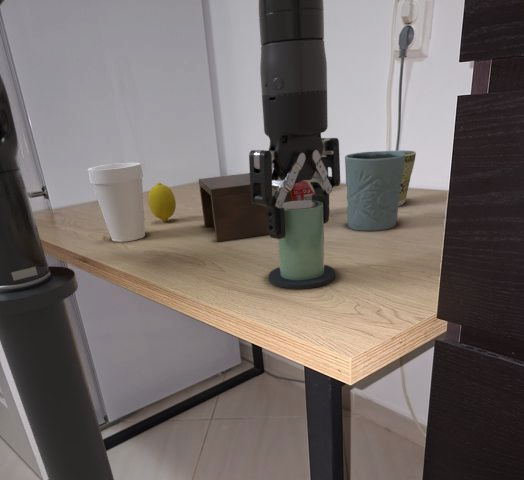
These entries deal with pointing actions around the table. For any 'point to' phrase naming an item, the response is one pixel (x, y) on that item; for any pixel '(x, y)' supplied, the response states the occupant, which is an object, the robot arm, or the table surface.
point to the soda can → (301, 192)
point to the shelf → (233, 207)
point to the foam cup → (120, 199)
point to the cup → (302, 241)
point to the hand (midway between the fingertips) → (299, 230)
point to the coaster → (302, 284)
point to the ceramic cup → (406, 174)
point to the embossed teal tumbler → (373, 189)
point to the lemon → (162, 202)
